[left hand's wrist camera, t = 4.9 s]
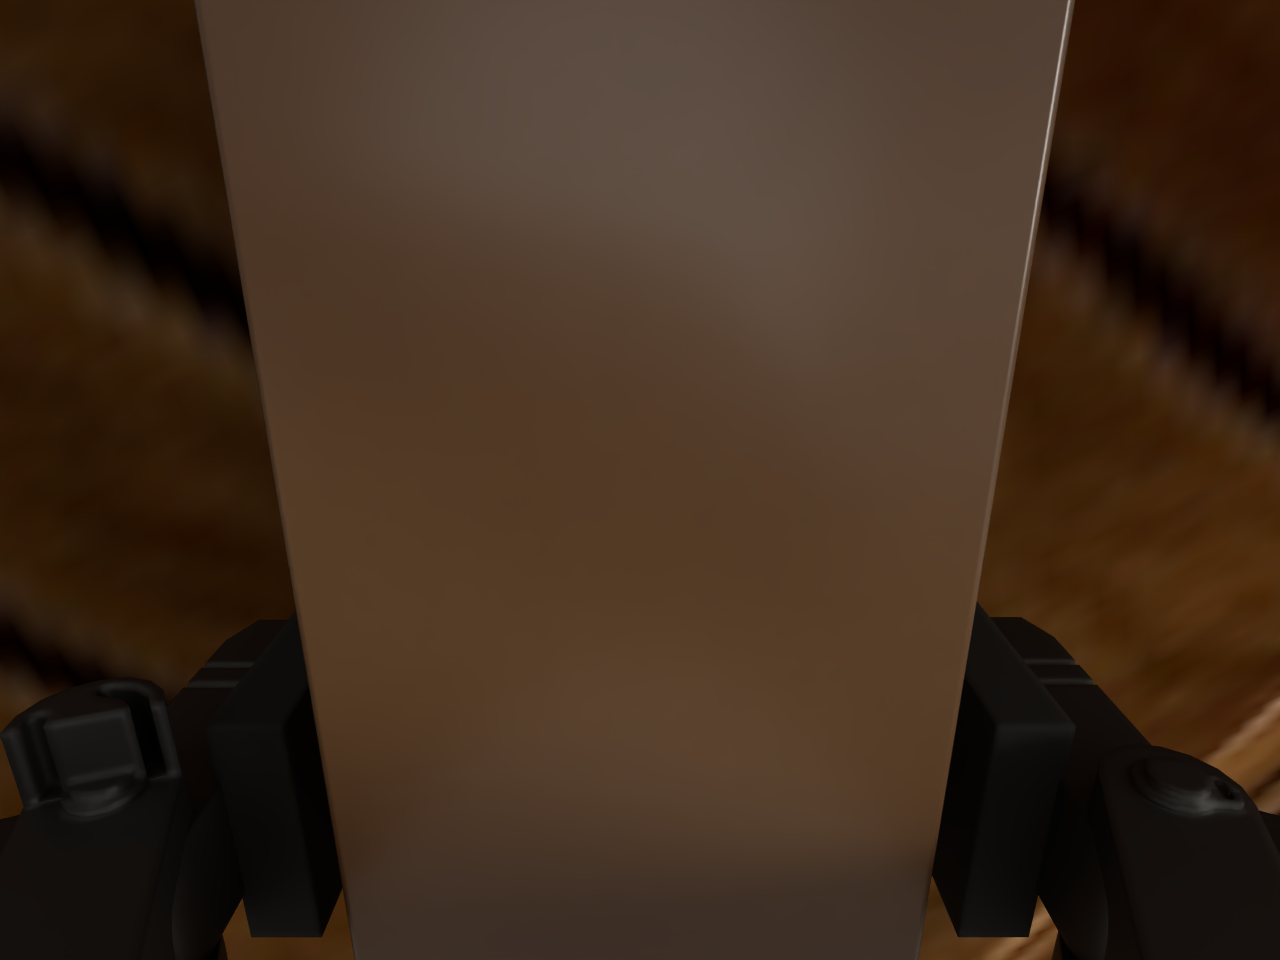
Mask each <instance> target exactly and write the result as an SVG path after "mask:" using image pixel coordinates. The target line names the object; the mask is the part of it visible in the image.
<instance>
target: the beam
mask: <svg viewBox="0 0 1280 960" xmlns="http://www.w3.org/2000/svg"><path fill="white" fill-rule="evenodd" d="M1074 4H1075V0H194V5H195V11H196V17H197V23H198V29H199V35H200V40H201V46H202V52H203V58H204V64H205V70H206V76H207V82H208V88H209V94H210V100H211V106H212V112H213V118H214V124H215V130H216V136H217V142H218V148H219V154H220V160H221V166H222V172H223V177H224V183H225V189H226V195H227V201H228V207H229V213H230V219H231V225H232V231H233V237H234V243H235V249H236V255H237V261H238V267H239V273H240V279H241V285H242V291H243V297H244V303H245V309H246V314H247V320H248V326H249V332H250V338H251V344H252V350H253V356H254V362H255V368H256V374H257V380H258V386H259V392H260V398H261V404H262V410H263V416H264V422H265V428H266V434H267V440H268V446H269V451H270V457H271V463H272V469H273V475H274V481H275V487H276V493H277V499H278V505H279V511H280V517H281V523H282V529H283V535H284V541H285V547H286V553H287V559H288V565H289V571H290V577H291V583H292V588H293V594H294V600H295V606H296V612H297V618H298V624H299V630H300V636H301V642H302V648H303V654H304V660H305V666H306V672H307V678H308V684H309V690H310V696H311V702H312V708H313V714H314V720H315V726H316V731H317V737H318V743H319V749H320V755H321V761H322V767H323V773H324V779H325V785H326V791H327V797H328V803H329V809H330V815H331V821H332V827H333V833H334V839H335V845H336V851H337V857H338V863H339V868H340V874H341V880H342V886H343V892H344V898H345V904H346V910H347V916H348V922H349V928H350V934H351V940H352V946H353V952H354V958H355V960H918V956H919V950H920V944H921V937H922V931H923V925H924V919H925V913H926V907H927V901H928V895H929V889H930V883H931V876H932V870H933V864H934V858H935V852H936V846H937V840H938V834H939V828H940V821H941V815H942V809H943V803H944V797H945V791H946V785H947V779H948V773H949V767H950V760H951V754H952V748H953V742H954V736H955V730H956V724H957V718H958V712H959V706H960V699H961V693H962V687H963V681H964V675H965V669H966V663H967V657H968V651H969V644H970V638H971V632H972V626H973V620H974V614H975V608H976V602H977V596H978V590H979V583H980V577H981V571H982V565H983V559H984V553H985V547H986V541H987V535H988V528H989V522H990V516H991V510H992V504H993V498H994V492H995V486H996V480H997V474H998V467H999V461H1000V455H1001V449H1002V443H1003V437H1004V431H1005V425H1006V419H1007V413H1008V406H1009V400H1010V394H1011V388H1012V382H1013V376H1014V370H1015V364H1016V358H1017V351H1018V345H1019V339H1020V333H1021V327H1022V321H1023V315H1024V309H1025V303H1026V297H1027V290H1028V284H1029V278H1030V272H1031V266H1032V260H1033V254H1034V248H1035V242H1036V236H1037V229H1038V223H1039V217H1040V211H1041V205H1042V199H1043V193H1044V187H1045V181H1046V174H1047V168H1048V162H1049V156H1050V150H1051V144H1052V138H1053V132H1054V126H1055V120H1056V113H1057V107H1058V101H1059V95H1060V89H1061V83H1062V77H1063V71H1064V65H1065V59H1066V52H1067V46H1068V40H1069V34H1070V28H1071V22H1072V16H1073V10H1074Z"/></svg>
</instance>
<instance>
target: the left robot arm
mask: <svg viewBox="0 0 1280 960" xmlns="http://www.w3.org/2000/svg"><path fill="white" fill-rule="evenodd" d="M0 736H1V739H2V742H3V745H4V748H5V751H6V754H7V757H8V760H9V763H10V766H11V769H12V772H13V775H14V778H15V781H16V784H17V787H18V790H19V793H20V796H21V799H22V802H23V805H24V808H23V810H22V812H21V814H20V815H17V816H13V817H9V818H4V819H0V960H228V959H227V952H226V947H225V943H224V939H223V932H224V930H225V928H226V926H227V925H228V923H229V921H230V919H231V917H232V916H233V914H234V912H235V910H236V908H237V906H238V905H239V903H240V901H241V899H242V898H243V902H244V907H245V911H246V915H247V920H248V924H249V929H250V933H251V937H322V936H323V933H324V931H325V928H326V926H327V924H328V921H329V919H330V917H331V914H332V912H333V909H334V907H335V905H336V902H337V900H338V897H339V895H340V893H341V890H342V888H343V886H342V880H341V874H340V868H339V863H338V857H337V851H336V845H335V839H334V833H333V827H332V821H331V815H330V809H329V803H328V797H327V791H326V785H325V779H324V773H323V767H322V761H321V755H320V749H319V743H318V737H317V731H316V726H315V720H314V714H313V708H312V702H311V696H310V690H309V684H308V678H307V672H306V666H305V660H304V654H303V648H302V642H301V636H300V630H299V624H298V618H297V612H296V611H295V612H294V613H293V615H292V616H291V617H290V618H289V620H258V621H257V622H255V623H253V624H252V625H250V626H248V627H247V628H245V629H244V630H242V631H240V632H239V633H237V634H235V635H234V636H232V637H230V638H229V639H227V640H226V641H225V642H224V643H223V644H222V645H221V647H220V648H219V649H218V650H217V651H216V652H215V653H214V654H213V656H212V657H211V658H210V659H209V660H208V661H207V662H206V666H205V668H201V669H200V670H199V671H198V672H197V673H196V675H195V676H194V677H193V678H192V679H191V680H190V681H189V682H188V688H183V689H182V690H181V691H180V692H179V694H178V695H177V696H176V697H175V698H174V699H173V700H172V701H171V703H170V704H169V705H168V706H167V703H166V699H165V695H164V691H163V689H161V688H160V687H159V686H157V685H156V684H154V683H153V682H152V681H148V680H142V679H136V678H130V677H128V678H116V679H104V680H98V681H95V682H91V683H87V684H83V685H79V686H75V687H71V688H69V689H66V690H64V691H62V692H59V693H57V694H55V695H52V696H50V697H47V698H45V699H43V700H41V701H39V702H37V703H36V704H34V705H33V706H31V707H30V708H28V709H27V710H25V711H24V712H22V713H20V714H19V715H17V716H16V717H15V718H14V719H13V720H12V721H11V722H10V723H9V725H8V726H7V727H6V728H5V729H4V730H3V731H2V732H1V733H0ZM932 876H933V878H934V881H935V883H936V885H937V888H938V890H939V893H940V895H941V897H942V900H943V902H944V905H945V907H946V909H947V912H948V914H949V917H950V919H951V921H952V924H953V926H954V928H955V931H956V933H957V936H958V937H1029V933H1030V929H1031V924H1032V920H1033V915H1034V911H1035V906H1036V902H1037V898H1038V895H1039V897H1040V899H1041V901H1042V902H1043V904H1044V906H1045V908H1046V910H1047V911H1048V913H1049V915H1050V917H1051V919H1052V920H1053V922H1054V924H1055V926H1056V928H1057V929H1058V934H1057V939H1056V943H1055V947H1054V951H1053V955H1052V959H1051V960H1280V816H1279V815H1274V814H1270V813H1266V812H1262V811H1259V810H1258V808H1257V806H1256V805H1255V804H1254V802H1253V801H1252V800H1251V798H1250V797H1249V796H1248V794H1247V793H1246V792H1245V791H1244V789H1243V788H1242V787H1241V786H1240V785H1239V784H1237V783H1236V782H1235V781H1233V780H1232V779H1231V778H1229V777H1228V776H1227V775H1225V774H1224V773H1223V772H1221V771H1220V770H1219V769H1217V768H1215V767H1213V766H1211V765H1209V764H1207V763H1205V762H1203V761H1201V760H1198V759H1196V758H1194V757H1192V756H1190V755H1187V754H1184V753H1180V752H1177V751H1174V750H1170V749H1167V748H1163V747H1160V746H1152V745H1151V744H1150V743H1149V742H1148V741H1147V740H1146V739H1145V738H1144V737H1143V735H1142V734H1141V733H1140V732H1139V731H1138V730H1137V729H1136V728H1135V727H1134V725H1133V724H1132V723H1131V722H1130V721H1129V720H1128V719H1127V718H1126V717H1125V715H1124V714H1123V713H1122V712H1121V711H1120V710H1119V709H1118V708H1117V707H1116V705H1115V704H1114V703H1113V702H1112V701H1111V700H1110V699H1109V698H1108V697H1107V695H1106V694H1105V693H1104V692H1103V691H1102V690H1101V689H1100V688H1099V687H1098V685H1093V683H1092V679H1091V678H1090V677H1089V675H1088V674H1087V673H1086V672H1085V671H1084V670H1083V669H1082V668H1081V667H1080V665H1075V660H1074V659H1073V658H1072V657H1071V655H1070V654H1069V653H1068V652H1067V651H1066V650H1065V649H1064V648H1063V647H1062V645H1061V644H1060V643H1059V642H1058V641H1057V640H1056V639H1055V638H1054V637H1053V636H1051V635H1050V634H1048V633H1046V632H1045V631H1043V630H1041V629H1040V628H1038V627H1036V626H1035V625H1033V624H1031V623H1030V622H1028V621H1027V620H1025V619H1023V618H1022V617H989V616H988V615H987V613H986V612H985V611H984V610H983V608H982V607H981V606H980V605H979V603H978V602H976V608H975V614H974V620H973V626H972V632H971V638H970V644H969V651H968V657H967V663H966V669H965V675H964V681H963V687H962V693H961V699H960V706H959V712H958V718H957V724H956V730H955V736H954V742H953V748H952V754H951V760H950V767H949V773H948V779H947V785H946V791H945V797H944V803H943V809H942V815H941V821H940V828H939V834H938V840H937V846H936V852H935V858H934V864H933V870H932Z"/></svg>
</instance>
